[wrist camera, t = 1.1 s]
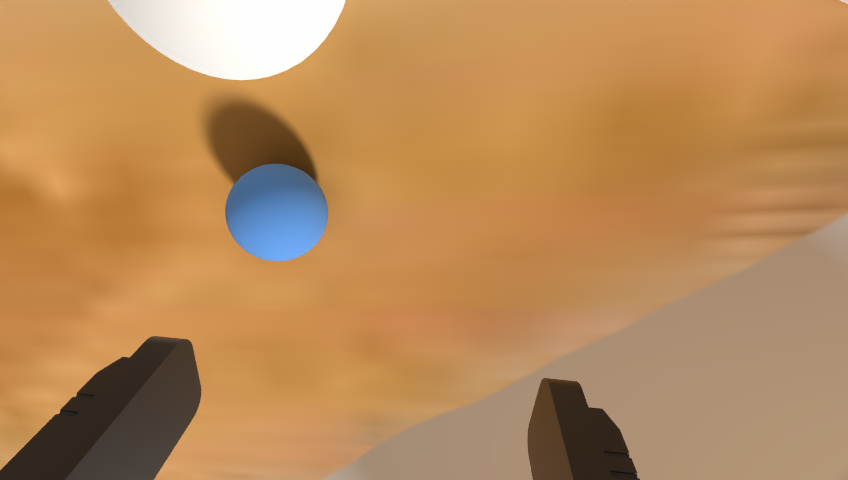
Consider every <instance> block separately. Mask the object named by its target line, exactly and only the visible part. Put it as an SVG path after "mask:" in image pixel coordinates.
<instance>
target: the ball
mask: <svg viewBox="0 0 848 480" xmlns="http://www.w3.org/2000/svg"><path fill="white" fill-rule="evenodd" d="M225 212H226V221H227V225H228V228H229V231H230V233H231V235H232V236H233V238H234V239H235V241H236V242H237V243H238V244H239V245H240V246H241V247H242V248H243V249H244V250H245V251H247V252H248V253H250V254H252V255H254V256H256V257H258V258H261V259H264V260H269V261H286V260H290V259H294V258H297V257H299V256H301V255H303V254H305V253H307V252H308V251H309V250H310V249H312V248H313V247H314V246H315V245H316V244H317V243H318V241H319V240H320V238H321V237H322V235H323V233H324V230H325V228H326V224H327V218H328V208H327V203H326V199H325V196H324V194H323V192H322V190H321V188H320V187H319V185H318V184H317V183H316V182H315V180H314V179H313V178H312V177H311V176H309V175H308V174H307V173H305V172H303V171H302V170H300V169H298V168H295V167H292V166H289V165H285V164H267V165H262V166H259V167H256V168H254V169H252V170H250V171H248V172H247V173H245V174H244V175H243V176H241V177H240V178H239V179H238V180H237V182H236V183H235V184H234V185H233V187H232V189H231V191H230V193H229V195H228V198H227V202H226V209H225Z"/></svg>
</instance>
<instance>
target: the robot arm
mask: <svg viewBox="0 0 848 480" xmlns="http://www.w3.org/2000/svg"><path fill="white" fill-rule="evenodd" d="M200 398H201V385H200V380H199V375H198V370H197V366H196V361H195V356H194V351H193V346H192V344H191V342H190V341H189V340H186V339H177V338H168V337H158V336H153V337H150V338H149V339H147V340H146V341H145V342H144V343H143V344H142V345H141V346H140V347H139V348H138V350H137V351H136V352H135V353H134V354H133V355H132V356H131V357H130V358H127V357H122V358H120V359H119V360H117V361H115V362H114V363H112V364H110V365H109V366H107V367H106V368H104V369H102V370H101V371H99V372H97V373H96V374H95V375H94V376H93V377H92V378H91V379H90V380H89V381H88V382H87V383H86V384H85V385H84V386H83V387H82V388H81V389H80V390H79V391H78V392H77V396H76V397H72V398H71V399H70V400H69V402H68V403H67V404H66V405H65V406H64V407H63V408H62V409H61V410H60V413H59V414H56V415H55V416H54V417H53V418H52V419H51V420H50V421H49V422H48V423H47V424H46V425H45V426H44V427H43V428H42V429H41V430H40V431H39V432H38V433H37V434H36V435H35V436H34V437H33V438H32V439H31V440H30V441H29V442H28V443H27V444H26V445H25V446H24V447H23V448H22V449H21V450H20V451H19V452H18V453H17V454H16V455H15V456H14V457H13V458H12V459H11V460H10V461H9V462H8V463H7V464H6V465H5V466H4V467H3V468H2V469H1V470H0V480H154V478H155V477H156V475H157V474H158V472H159V471H160V469H161V467H162V466H163V464H164V463H165V461H166V460H167V458H168V456H169V455H170V453H171V452H172V450H173V449H174V447H175V446H176V444H177V442H178V441H179V439H180V438H181V436H182V435H183V433H184V431H185V430H186V428H187V427H188V425H189V424H190V422H191V421H192V419H193V417H194V416H195V414H196V412H197V409H198V406H199V403H200ZM528 453H529V459H530V465H531V471H532V477H533V480H640V479H638V478H637V471H636V469H635V467H634V464H633V462H632V459H631V458H629V451H628V449H627V446H626V444H625V441H624V439H623V437H622V434H621V432H620V429H619V428H618V427H617V426H616V425H615V423H614V422H613V421H612V420H611V419H610V418H609V416H608V415H607V414H606V413H605V411H604V410H603V409H598V408H589V407H588V405H587V402H586V399H585V396H584V393H583V390H582V388H581V386H580V384H579V383H578V382H577V381H567V380H558V379H548V378H544V379H543V380H542V381H541V384H540V387H539V391H538V394H537V398H536V401H535V405H534V409H533V412H532V416H531V419H530V423H529V428H528Z"/></svg>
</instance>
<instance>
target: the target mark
mask: <svg viewBox="0 0 848 480" xmlns="http://www.w3.org/2000/svg"><path fill="white" fill-rule="evenodd" d="M345 1H346V0H108V2H109V3H110V4H111V6H112V7H113V8H114V10H115V11H116V12H117V13H118V14H119V15H120V16H121V18H122V19H123V20H124V21H125V22H126V23H127V24H128V25H129V26H130V27H131V28H132V29H133V30H134V31H135V32H136V33H137V34H138V35H139V36H140V37H141V38H142V39H143V40H145V41H146V42H147V43H149V44H150V45H151V46H152V47H154V48H155V49H156V50H158V51H159V52H160V53H162V54H164V55H165V56H167V57H169V58H170V59H172V60H173V61H175V62H177V63H179V64H181V65H183V66H185V67H187V68H189V69H192V70H194V71H197V72H200V73H203V74H206V75H209V76H214V77H219V78H223V79H234V80H249V79H259V78H264V77H268V76H273V75H275V74H278V73H280V72H283V71H285V70H288V69H289V68H291V67H293V66H295V65H296V64H298V63H300V62H302V61H303V60H304V59H305V58H306V57H308V56H309V55H310V54H311V53H313V52H314V51H315V50H316V49H317V48H318V46H319V45H320V44H321V43H322V42H323V41H324V40H325V39H326V37H327V36H328V34H329V33H330V31H331V30H332V28H333V27H334V25H335V24H336V22H337V20H338V18H339V16H340V14H341V11H342V9H343V7H344V4H345Z"/></svg>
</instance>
